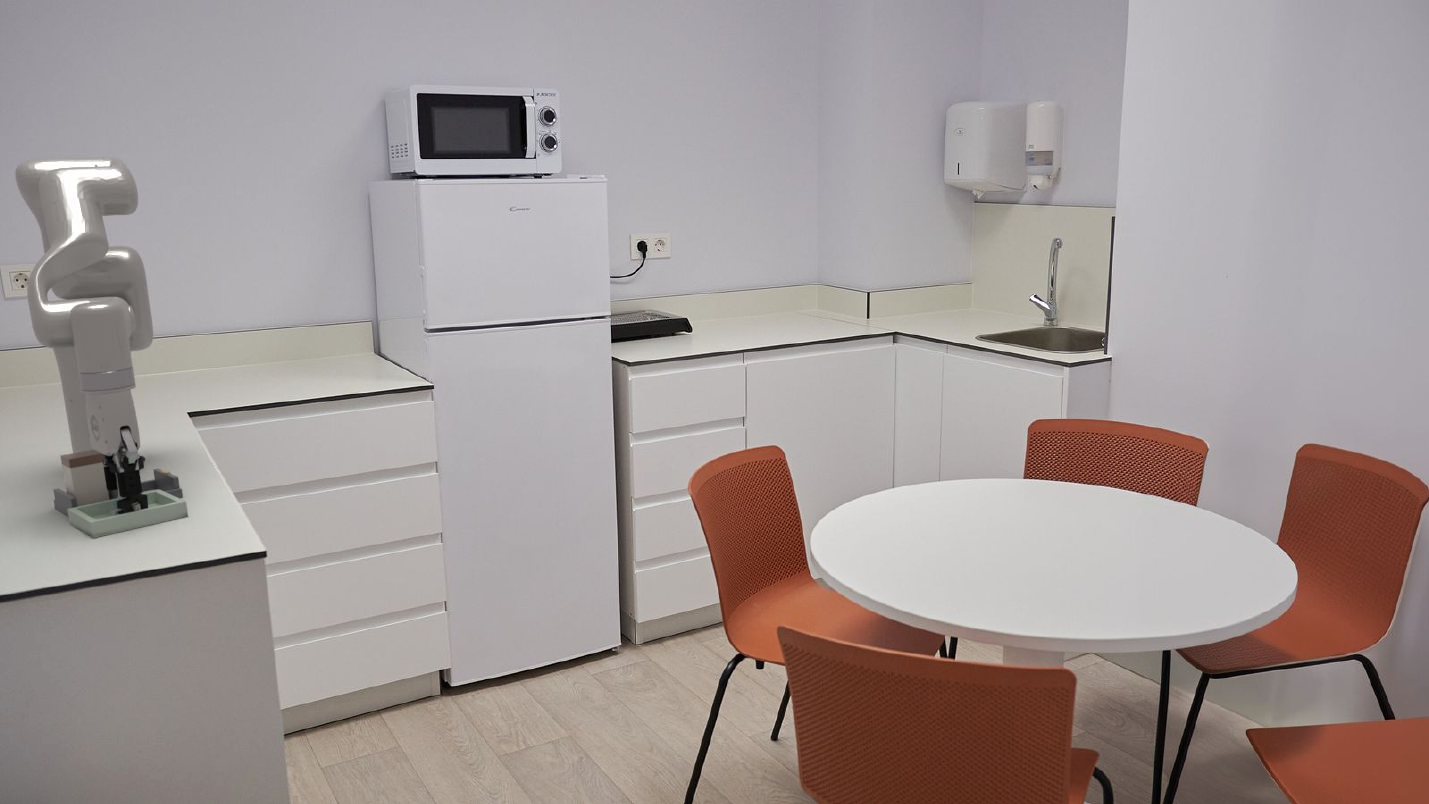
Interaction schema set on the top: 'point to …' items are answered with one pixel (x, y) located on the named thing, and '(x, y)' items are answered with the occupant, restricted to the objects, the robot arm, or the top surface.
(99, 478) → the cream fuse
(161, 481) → the holder
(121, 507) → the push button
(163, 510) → the tray
